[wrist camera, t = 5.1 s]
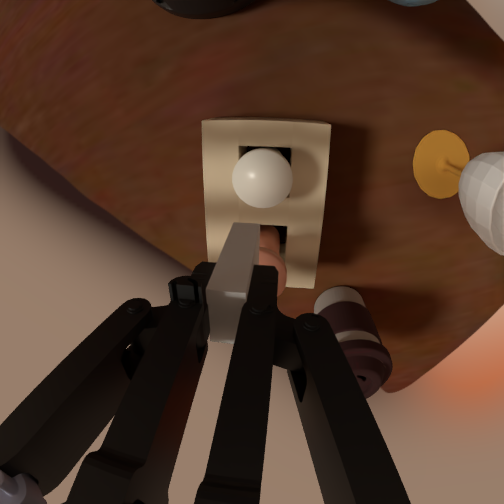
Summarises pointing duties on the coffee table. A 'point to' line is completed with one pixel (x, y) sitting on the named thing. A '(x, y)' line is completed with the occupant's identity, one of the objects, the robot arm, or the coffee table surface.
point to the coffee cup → (356, 336)
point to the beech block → (285, 213)
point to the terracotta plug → (272, 253)
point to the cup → (464, 182)
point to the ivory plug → (262, 177)
